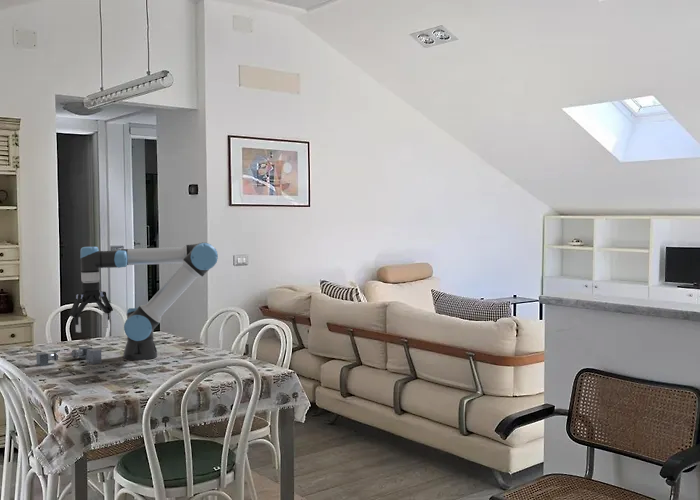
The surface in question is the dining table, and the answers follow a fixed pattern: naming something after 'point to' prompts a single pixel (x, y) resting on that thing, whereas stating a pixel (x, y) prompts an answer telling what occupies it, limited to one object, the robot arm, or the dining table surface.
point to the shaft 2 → (80, 352)
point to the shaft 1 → (45, 358)
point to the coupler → (94, 356)
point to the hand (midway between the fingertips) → (92, 330)
